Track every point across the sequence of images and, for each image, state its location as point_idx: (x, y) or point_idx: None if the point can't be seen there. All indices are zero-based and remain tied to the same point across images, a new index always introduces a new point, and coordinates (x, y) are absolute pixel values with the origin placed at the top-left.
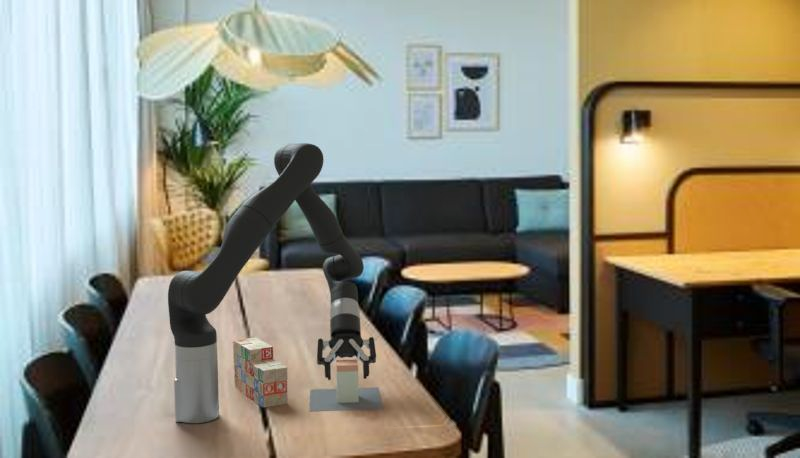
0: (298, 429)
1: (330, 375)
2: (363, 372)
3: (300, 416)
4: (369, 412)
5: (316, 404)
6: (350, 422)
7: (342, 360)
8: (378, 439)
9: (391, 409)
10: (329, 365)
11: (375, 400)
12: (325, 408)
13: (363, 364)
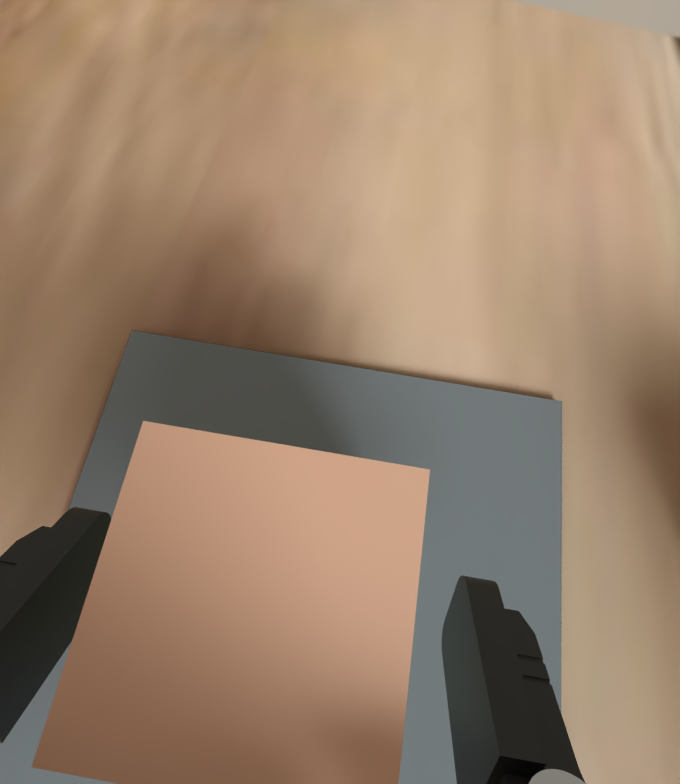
0: (605, 201)
1: (465, 578)
2: (80, 583)
3: (605, 366)
4: (222, 325)
5: (516, 524)
6: (356, 218)
7: (293, 773)
8: (288, 34)
9: (86, 338)
10: (503, 698)
11: (115, 497)
12: (464, 426)
13: (14, 612)
